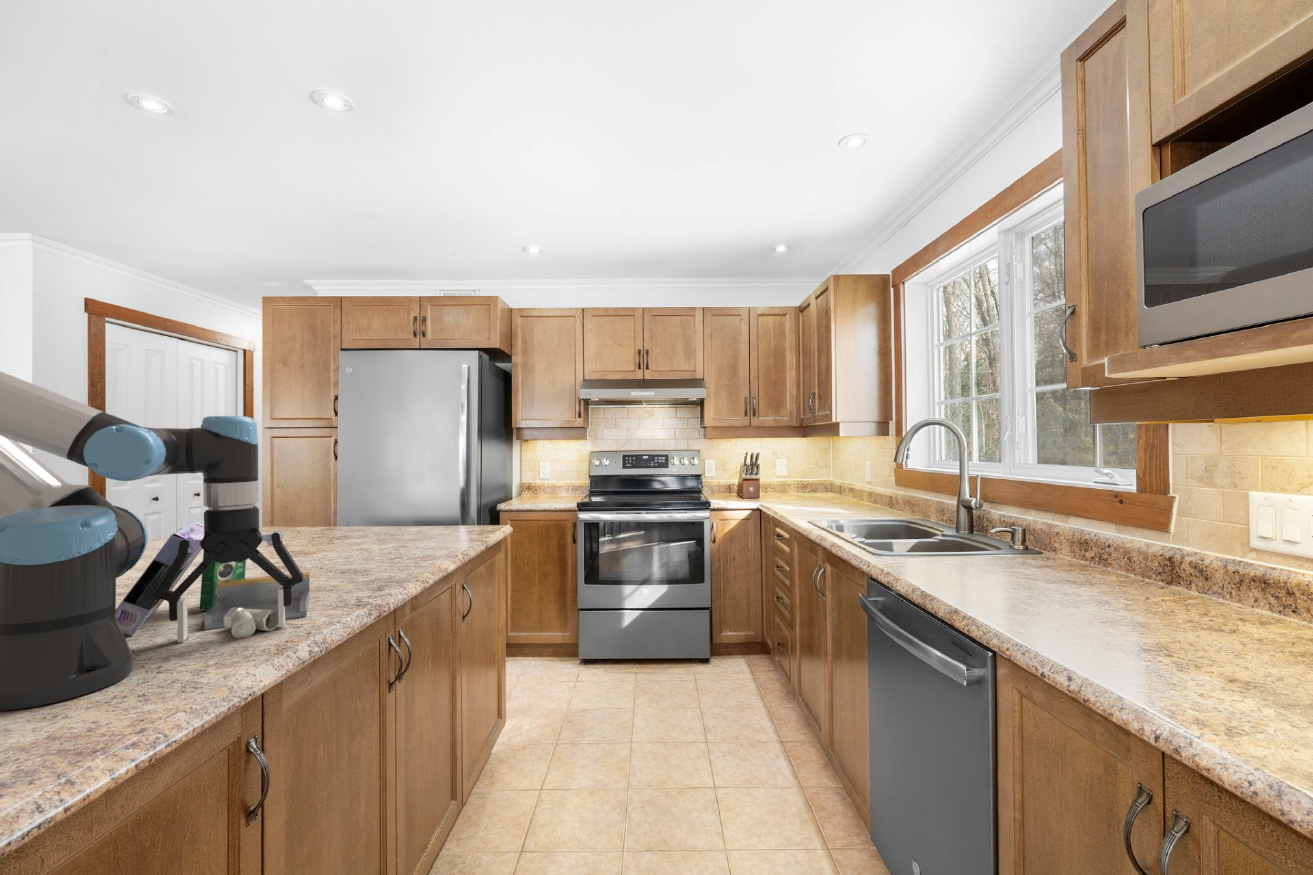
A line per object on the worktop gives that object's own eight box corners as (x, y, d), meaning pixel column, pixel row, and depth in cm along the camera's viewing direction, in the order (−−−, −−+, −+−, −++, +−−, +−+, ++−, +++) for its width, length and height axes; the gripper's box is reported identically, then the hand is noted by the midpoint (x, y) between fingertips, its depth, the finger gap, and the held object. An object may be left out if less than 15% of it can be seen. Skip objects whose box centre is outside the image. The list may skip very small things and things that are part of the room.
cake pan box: (133, 639, 95) (200, 542, 99) (98, 629, 93) (168, 530, 97) (160, 611, 111) (216, 528, 116) (130, 601, 109) (189, 518, 114)
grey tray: (306, 616, 106) (305, 586, 106) (204, 629, 99) (204, 597, 99) (310, 599, 118) (310, 572, 118) (219, 610, 110) (219, 581, 111)
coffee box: (232, 598, 118) (235, 535, 118) (245, 599, 118) (248, 536, 118) (198, 610, 110) (201, 542, 110) (211, 611, 110) (215, 543, 110)
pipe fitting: (247, 644, 93) (280, 627, 100) (245, 620, 93) (279, 605, 100) (205, 641, 95) (241, 625, 101) (204, 618, 95) (240, 603, 101)
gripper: (318, 500, 106) (320, 614, 106) (142, 510, 94) (144, 638, 94) (316, 503, 99) (318, 625, 99) (127, 515, 87) (129, 653, 87)
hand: (233, 632), depth 97 cm, fingers open, 13 cm apart
